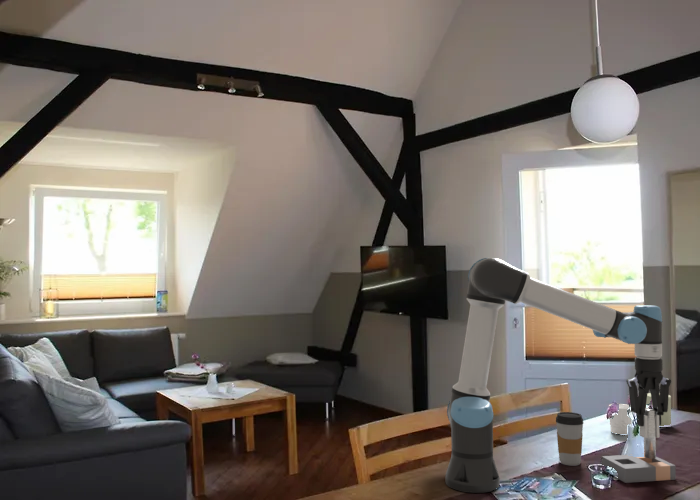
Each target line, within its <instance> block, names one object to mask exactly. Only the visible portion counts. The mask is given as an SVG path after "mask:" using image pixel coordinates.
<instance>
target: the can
mask: <svg viewBox="0 0 700 500" xmlns="http://www.w3.org/2000/svg"><path fill="white" fill-rule="evenodd" d="M659 395H660V392H659ZM650 401H651V392H648V394H647V401H646V404H649V403H650ZM670 424H671V425H672V396H671V395H670V394H669V396H668V411H667V412H664V415H661V425H659V426H664V425H670Z"/></svg>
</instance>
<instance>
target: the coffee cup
mask: <svg viewBox="0 0 700 500" xmlns="http://www.w3.org/2000/svg"><path fill="white" fill-rule="evenodd" d="M555 422H556V437H557V452H558V460H559V462H560V463H561V464H562V465H564V466H579V465H580V464H581V461H582V452H583V451H582V450H583V449H582V447H583V431H584V430H583V429H584V428H583V426H584V418H583V416H582V415H581V413H577V412H571V411H562V412H558V413H557V414H556V417H555Z"/></svg>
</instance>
